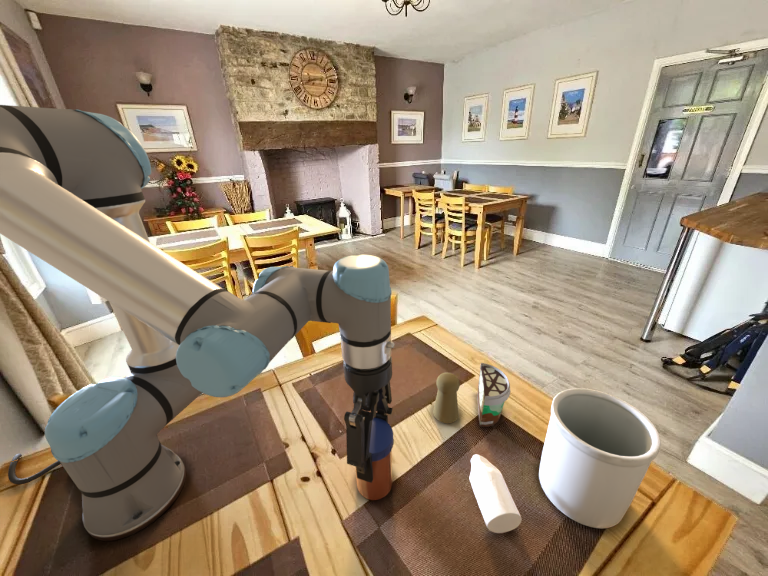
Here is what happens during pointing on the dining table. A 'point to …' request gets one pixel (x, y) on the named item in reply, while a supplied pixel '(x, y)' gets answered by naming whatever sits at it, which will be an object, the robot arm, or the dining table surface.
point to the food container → (491, 394)
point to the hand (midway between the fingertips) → (373, 457)
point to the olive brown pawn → (446, 398)
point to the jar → (377, 480)
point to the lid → (380, 439)
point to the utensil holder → (595, 455)
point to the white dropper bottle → (493, 496)
